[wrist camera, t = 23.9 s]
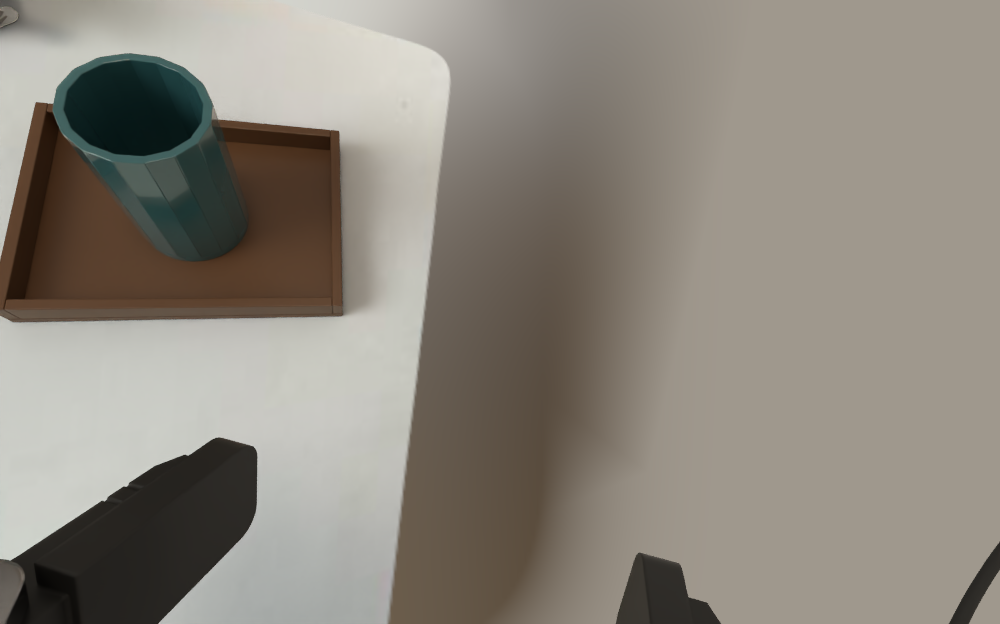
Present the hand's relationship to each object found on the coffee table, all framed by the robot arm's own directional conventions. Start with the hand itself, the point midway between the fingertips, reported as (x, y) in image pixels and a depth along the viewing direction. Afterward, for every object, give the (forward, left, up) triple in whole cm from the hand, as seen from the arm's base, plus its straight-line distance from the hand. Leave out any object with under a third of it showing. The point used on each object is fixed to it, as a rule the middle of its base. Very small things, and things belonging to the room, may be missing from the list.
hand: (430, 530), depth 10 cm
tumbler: (+10, -19, -21) cm, 29 cm away
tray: (+10, -19, -21) cm, 30 cm away
